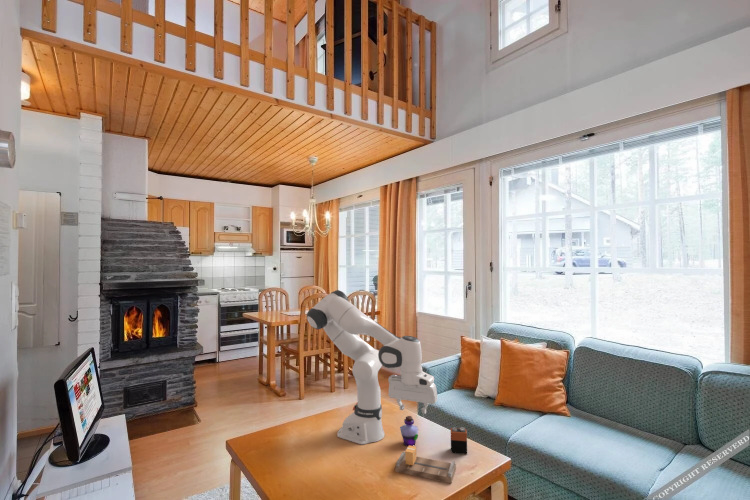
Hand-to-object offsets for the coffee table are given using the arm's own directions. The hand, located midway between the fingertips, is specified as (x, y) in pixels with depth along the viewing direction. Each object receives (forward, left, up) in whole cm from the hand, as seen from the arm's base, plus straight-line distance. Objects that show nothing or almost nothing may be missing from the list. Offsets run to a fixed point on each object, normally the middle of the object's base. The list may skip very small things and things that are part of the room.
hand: (412, 411), depth 150 cm
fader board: (+5, -1, -22) cm, 23 cm away
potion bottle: (-7, +17, -22) cm, 28 cm away
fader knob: (-1, -1, -19) cm, 20 cm away
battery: (+15, +18, -22) cm, 32 cm away
